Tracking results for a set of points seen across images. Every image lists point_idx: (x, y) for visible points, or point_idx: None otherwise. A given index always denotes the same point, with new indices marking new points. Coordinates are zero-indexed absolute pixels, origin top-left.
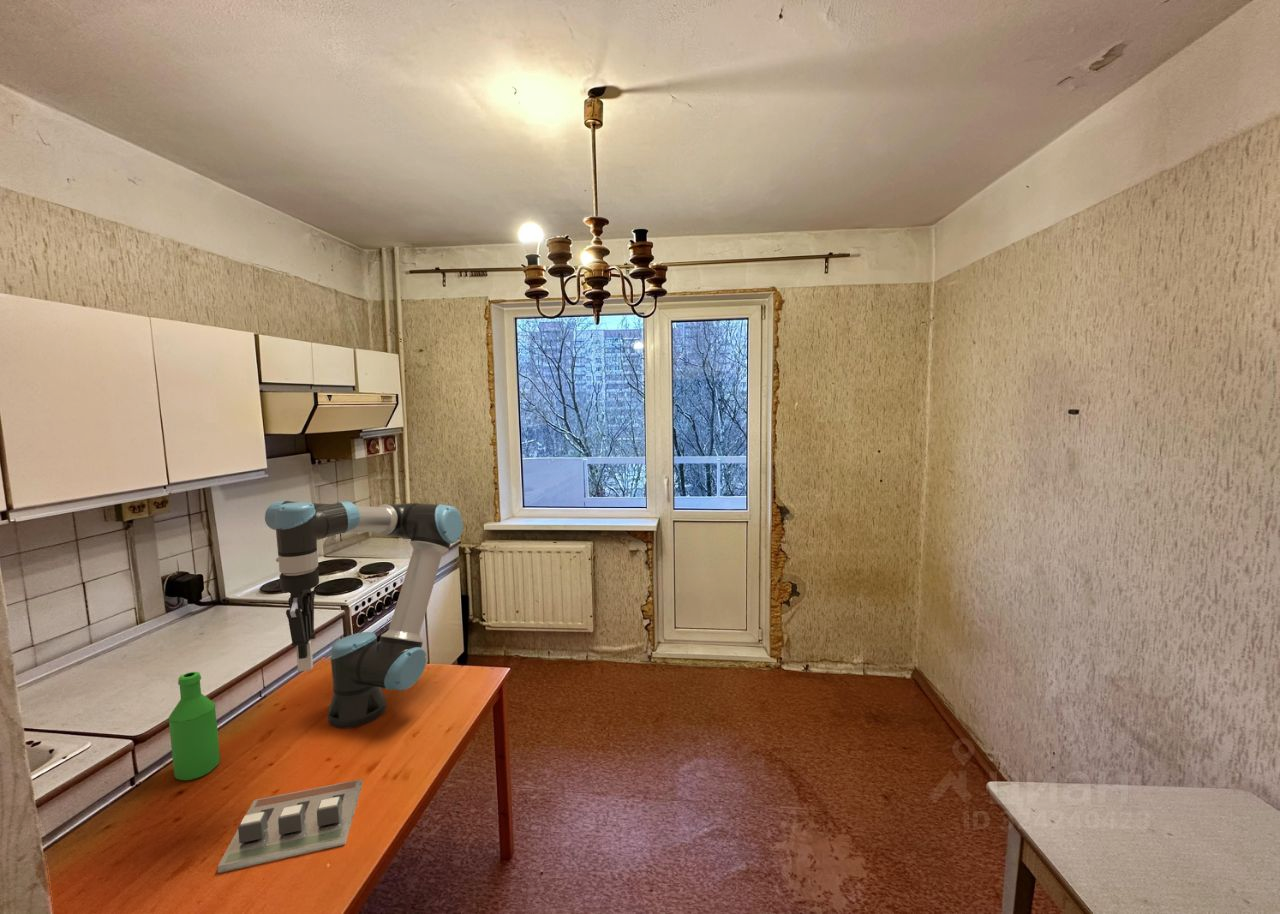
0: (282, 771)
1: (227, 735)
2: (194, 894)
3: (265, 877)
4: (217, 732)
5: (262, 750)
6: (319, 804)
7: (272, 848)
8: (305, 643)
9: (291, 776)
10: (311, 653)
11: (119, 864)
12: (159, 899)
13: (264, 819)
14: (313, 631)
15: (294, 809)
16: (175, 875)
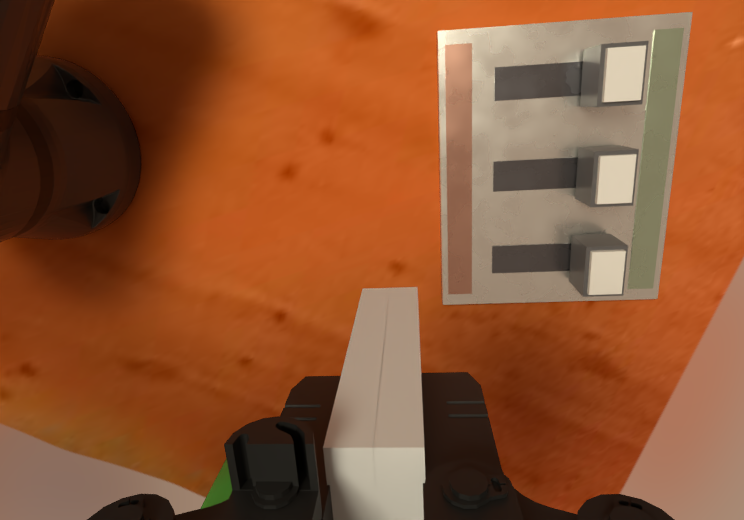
0: (317, 279)
1: (140, 455)
2: (692, 314)
3: (709, 187)
4: (226, 490)
5: (216, 356)
6: (612, 105)
7: (651, 197)
8: (650, 511)
9: (344, 249)
10: (375, 349)
11: (541, 475)
12: (675, 371)
13: (600, 244)
14: (139, 512)
15: (616, 171)
16: (617, 370)
